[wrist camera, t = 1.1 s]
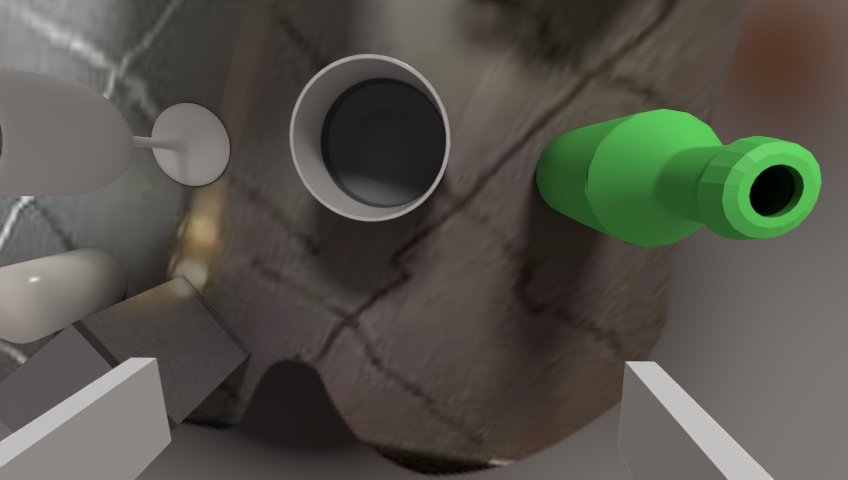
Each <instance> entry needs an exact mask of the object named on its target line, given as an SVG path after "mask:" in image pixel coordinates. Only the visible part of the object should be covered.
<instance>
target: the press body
mask: <svg viewBox="0 0 848 480" xmlns="http://www.w3.org/2000/svg"><path fill="white" fill-rule="evenodd" d="M250 354H251V353H250V351H249V350H248V349H247V348H246V347H245V346H244V345H243V343H242V342H241V341H240V340H239V339H238V338H237V336H236V335H235V334H234V333H233V332H232V331H231V330H230V328H229V327H228V326H227V325H226V324H225V323H224V321H223V320H222V319H221V318H220V317H219V316H218V315H217V313H216V312H215V311H214V310H213V309H212V308H211V306H210V305H209V304H208V303H207V302H206V301H205V300H204V298H203V297H202V296H201V295H200V294H199V293H198V292H197V290H196V289H195V288H194V287H193V286H192V285H191V283H190V282H189V281H188V280H187V279H186V278H185V277H184V275H183V276H180V277H178V278H176V279H173V280H171V281H169V282H166V283H164V284H162V285H159V286H157V287H155V288H152V289H150V290H148V291H145V292H143V293H141V294H138V295H136V296H134V297H131V298H129V299H127V300H124V301H122V302H120V303H117V304H115V305H113V306H110V307H108V308H106V309H103V310H101V311H99V312H97V313H94V314H92V315H90V316H87V317H85V318H83V319H80V320H78V321H76V322H73V323H71V324H70V325H69V326H67V327H66V328H65V329H64V330H63V331H61V332H60V333H59V334H58V335H57V336H55V337H54V338H53V339H52V340H51V341H50V342H48V343H47V344H46V345H45V346H44V347H42V348H41V349H40V350H39V351H38V352H36V353H35V354H34V355H33V356H32V357H30V358H29V359H28V360H27V361H26V362H25V363H23V364H22V365H21V366H20V367H19V368H17V369H16V370H15V371H14V372H13V373H11V374H10V375H9V376H8V377H7V378H6V379H4V380H3V381H2V382H1V383H0V419H1V420H2V421H3V422H4V423H5V424H6V425H7V426H8V427H9V428H10V429H11V430H12V431H13V432H14V433H15V432H16V431H18V430H19V429H21V428H22V427H24V426H26V425H27V424H29V423H30V422H32V421H33V420H35V419H36V418H38V417H39V416H41V415H43V414H44V413H46V412H47V411H49V410H50V409H52V408H53V407H55V406H57V405H58V404H60V403H61V402H63V401H64V400H66V399H67V398H69V397H71V396H72V395H74V394H75V393H77V392H78V391H80V390H81V389H83V388H85V387H86V386H88V385H89V384H91V383H92V382H94V381H95V380H97V379H99V378H100V377H102V376H103V375H105V374H106V373H108V372H109V371H111V370H112V369H114V368H116V367H117V366H119V365H120V364H122V363H123V362H125V361H126V360H128V359H130V358H156V359H157V364H158V370H159V375H160V381H161V386H162V392H163V397H164V403H165V408H166V414H167V419H168V425H169V430H170V432H171V431H172V430H173V429H174V428H175V427H176V426H177V425H178V424H179V423H181V422H182V421H183V420H184V419H185V418H186V417H187V416H188V415H189V414H190V413H191V412H192V411H193V410H194V409H195V408H196V407H197V406H198V405H199V404H200V403H201V402H202V401H203V400H204V399H205V398H206V397H207V396H208V395H209V394H210V393H211V392H212V391H213V390H214V389H215V388H216V387H217V386H218V385H219V384H220V383H221V382H222V381H224V380H225V379H226V378H227V377H228V376H229V375H230V374H231V373H232V372H233V371H234V370H235V369H236V368H237V367H238V366H239V365H240V364H241V363H242V362H243V361H244V360H245V359H246V358H247V357H248V356H249V355H250Z"/></svg>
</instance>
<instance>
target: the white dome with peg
mask: <svg viewBox="0 0 848 480" xmlns="http://www.w3.org/2000/svg"><path fill="white" fill-rule="evenodd" d="M126 290H127V278H126V274H125V271H124V269H123V267H122V266H121V264H120V263H119V261H118V260H117V259H116V258H115V257H114V256H113V255H111V254H110V253H108V252H107V251H105V250H102V249H99V248H95V247H86V248H81V249H77V250H73V251H68V252H64V253H60V254H56V255H51V256H47V257H43V258H39V259H35V260H30V261H26V262H22V263H18V264H14V265H9V266H5V267H1V268H0V338H3V339H5V340H7V341H10V342H14V343H30V342H33V341H36V340H38V339H40V338H43V337H45V336H47V335H49V334H52V333H54V332H56V331H59V330H61V329H63V328H66V327H67V326H69V325H70V324H71V323H73V322H76V321H78V320H80V319H83V318H85V317H87V316H90V315H92V314H94V313H97V312H99V311H101V310H103V309H106V308H108V307H110V306H113V305H115V304H117V303H119V302H120V301H121V300H122V299H123V298H124V296H125V293H126Z"/></svg>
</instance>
